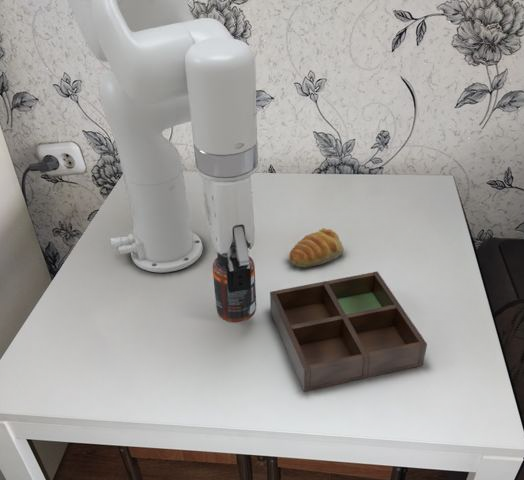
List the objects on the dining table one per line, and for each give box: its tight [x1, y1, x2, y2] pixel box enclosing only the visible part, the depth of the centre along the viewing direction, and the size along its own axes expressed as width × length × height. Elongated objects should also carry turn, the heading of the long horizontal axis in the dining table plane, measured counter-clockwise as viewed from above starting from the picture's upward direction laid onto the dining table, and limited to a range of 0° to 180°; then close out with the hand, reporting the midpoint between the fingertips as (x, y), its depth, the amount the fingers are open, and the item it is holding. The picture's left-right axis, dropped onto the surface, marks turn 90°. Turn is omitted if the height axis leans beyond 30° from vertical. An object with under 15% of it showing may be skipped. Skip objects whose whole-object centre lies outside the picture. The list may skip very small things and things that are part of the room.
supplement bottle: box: [212, 242, 257, 324], centre depth 84 cm, size 6×6×11 cm
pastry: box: [289, 227, 344, 269], centre depth 101 cm, size 9×7×4 cm
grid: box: [269, 271, 428, 392], centre depth 86 cm, size 17×17×4 cm
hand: (234, 273), depth 83 cm, fingers closed on supplement bottle, 6 cm apart
